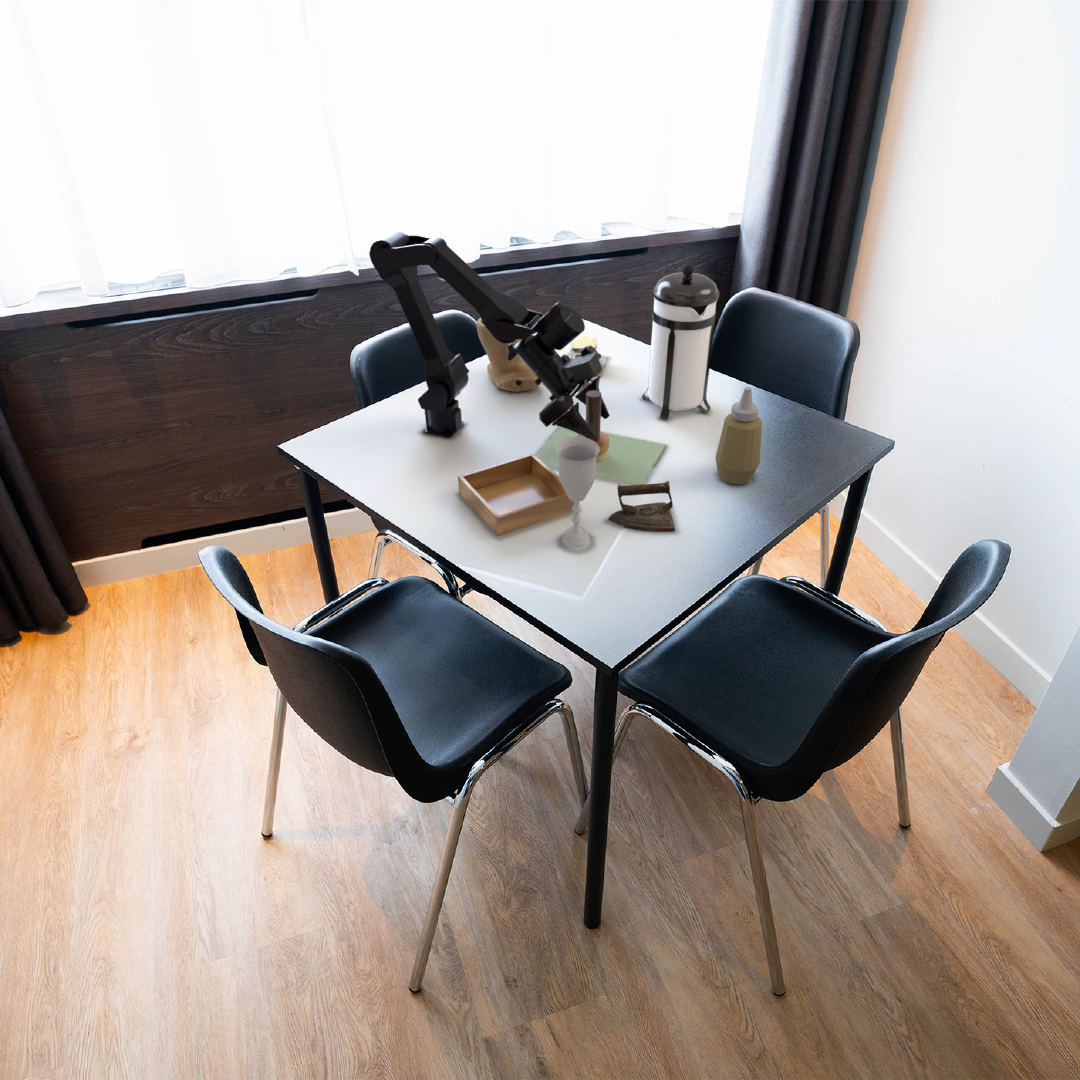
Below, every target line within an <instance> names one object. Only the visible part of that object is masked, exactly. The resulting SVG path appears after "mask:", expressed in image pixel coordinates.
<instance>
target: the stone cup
mask: <svg viewBox="0 0 1080 1080" xmlns="http://www.w3.org/2000/svg"><path fill="white" fill-rule="evenodd" d="M477 319H478V320H477V321H476V331H477V336H478V338H479V339H478V340H479V341H480V343H481V345H482V348H483V349H484V351H485V354H486V355H487V357H488V360H489V363H488V364H487V367H486V368H487V373H488V375H489V376H490V378H491V379H492V381H493V382H494V384H495V386H497V388H498V389H501V390H505V391H509V392H517V393H518V392H525V391H529V390H533V389H535V388H538V387H540V386H541V385H542V382H541V383H540V384H539V385H537V384H536V383H535V380H536V379H537V377H536V375H535V374H534V373H533V372H532V371H531V370H530V368H529V367H528V366H527V365H526V364H525V363H524V361H523V360H522V359H521V358H520V357H519V356H518V355H517V356H516V357H514V358H513V359H512V360H511V361H509V360H508V351H509V350H508V346H509V345H510V344H511V343H504V344H503V343H500V342H498V341H497V340H496V339H495V338H494V337H493V336H492V335H491V333H490V332H489V331H488V330H487V328H486V327H485V326H484V324H483V322H482V320H481V317H479V318H477ZM520 340H521V339H517V340H515V341H514V342H519V341H520Z"/></svg>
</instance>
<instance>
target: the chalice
mask: <svg viewBox="0 0 1080 1080" xmlns="http://www.w3.org/2000/svg"><path fill="white" fill-rule="evenodd" d="M599 451H600V447H599V446H598V444H597V443H596V442H594V441H593V440H590V439H588V438H583V437H571V438H566V439H564V440H562V441H560V442H559V443H558V444H557V445H556V452H557V454H558V456H559V469H558V476H559V478H560V481H561V484H562V486H563V488H564V490H565V492H566V494H567V496H568V497H569V499H570V500H572V501H574V506H573V507H572V510H573V511H572V513H573V515H572V516H571V517H570V519H571V521H572V523H573V526H570V527H568V528H567V530H565V532H564V535H563V537H562V540H561V541H562V544H563V545H564V546H565V547H566V548H569V549H571V550H581V549H585V548H586V547H588V546H589V544H590V543H591V538H590V536H589V534H588V531H587V530H586V529H585V528H584V527H582V526H580V522H581V521H582V520H583V519H582V518H583V517H582V516H581V515H580V513H581V512H582V507H581V504H580V502H583V501H584V500H585V499H586V497H587V495H588V494H589V492H590V491H591V489H592V487H593V485H594V482H595V480H596V478H597V477H596V456H597V455H598V453H599Z"/></svg>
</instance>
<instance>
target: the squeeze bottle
mask: <svg viewBox="0 0 1080 1080" xmlns="http://www.w3.org/2000/svg"><path fill="white" fill-rule="evenodd" d="M753 402H754V400H753V389H752V387H750V386H745V387H744V389H743V391H742V394H741V397H740V399H739V401H737V402H735V403H733V404H732V406H731V409H730V410H731V411H730V413H728V414H727V415H726V416H725V417H724V420H723V425H722V427H721V433H720V435H719V436H720V437H719V441H718V445H717V448H716V453H715V455H714V456H715V458H714V459H715V464H716V468H717V472H718V475H719V478H720V479H721V480H722V481H723V482H725V483H727V484H730V485H744V484H747V483H749V482H750V481H751V480H752V478H753V476H754V475H755V473H756V471H757V469H758V468H759V466H760V464H761V451H762V450H761V449H762V433H763V422H762V419H761V418H760V417H759V410H760V409H759V408H760V407H759V406H757V404H755V403H753Z"/></svg>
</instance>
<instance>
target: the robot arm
mask: <svg viewBox="0 0 1080 1080" xmlns="http://www.w3.org/2000/svg"><path fill="white" fill-rule="evenodd" d="M368 257H369V260H370V263H371V264H372V266H373V268H374V269H375V271H376V273H377V274H378V276H379V277H380V279H382V280H383V281H384V282H385V283H386V284H387V285H389V286H390V287H391V288H392V290H393V291H394V293H395V296H396V297H397V300H398V302H399V304H400V307H401V309H402V312H403V313H404V316H405V318H406V321H407V323H408V325H409V328H410V330H411V332H412V335H413V336H414V339H415V340H416V343H417V345H418V348H419V350H420V353H421V355H422V357H423V360H424V379H425V383H426V387H427V389H426V390H425V392H423V393H422V395H420V396H419V397H418V398H417V402H418V404H419V407H420V409H421V410H424V418H425V427H423V429H422V430H421V431H422V433H423V434H426V435H427V434H428V435H432V436H436V437H437V436H438V437H442V438H447V439H451V438H452V437H453V436H454V435H455V434H457V432H458V431H459V430H460V429H461V428H462V427H463V426H464V425H465V422H464V421H463V419H462V409H461V407H460V406H459V405H460V404H459V403H460V402H459V400H458V399H456V398H457V397H458V396H459V395H460V394H461V392H462V391H463V390H464V389H465V388H466V387H467V385H468V383H469V373H470V370H469V369H468V367H467V366H466V364H465V361H464V357H463V355H462V354H461V353H458V354H456V355H455V354H454V353H453V352H452V351H450V350H449V348H448V347H447V344H446V343H445V340H444V338H443V335H442V333H441V331H440V328H439V326H438V324H437V321H436V318H435V317H434V313H433V311H432V309H431V307H430V305H429V302H428V300H427V297H426V295H425V292H424V291H423V288H422V286H421V283H420V281H419V276H418V267H419V266H428V267H430V268H431V269H432V270H433V271H434V272H435V273H436V274H437V275H438V276H440V278H442V279H443V280H444V281H445V282H446V283H447V284H448V286H450V287H451V288H452V289H453V290H455V292H456V293H458V294H459V295H460V296H461V297H462V298H463V299H464V300H465V301H466V302H467V303H468V304H469V305H471V307H473V308H474V309H475V311H476V312H477V313H478V315H479V318H481V320H482V322H483V324H484V326H485V327H486V328H487V330H488V331H489V332H490V333H491V335H492V336H493V337H494V338H495V339H496V340H497V341H498V342H500V343H503V344H504V343H511V344H510V345H509V346H508V350H509V351H508V360H509V361H511V360H512V359H513V358H514V357H516V356H517V355H518V356H519V357H520V358H521V359H522V360H523V361H524V363H525V364H526V365H527V366H528V367H529V368H530V370H531V371H532V372H533V373H534V374H535V375H536V377H537V379H536V380H535V383H536V384H537V385H539V384H540V383H541V384H542V385H543V386H544V387H545V388H546V389H547V390H548V392H549V393H550V394H551V395H550V396H549V397H548V400H550V402H549V403H547V404H546V405H545V406H544V407H543V408H542V409H541V410H540V412H538V417H539V418H538V419H539V421H540V422H541V423H542V425H543V426H545V427H544V428H547V427H549V426H550V425H551V426H552V427H555V426H558V427H563V428H566V429H569V430H571V431H573V432H576V433H578V434H580V435H583V436H585V437H587V438H589V439H592V438H593V437H594V436H595V435H594V433H593V431H592V430H591V428H590V427H589V425H588V424H587V423H586V419H585V418H584V417H583V415H582V414H581V413H580V402H581V404H584V405H585V406H586V393H587V392H588V391H591V390H596V391H599V392H601V390H600V381H601V378H602V377H601V374H599V373H602V371H603V368H602V366H601V364H600V361H599V359H600V358H601V357H602V354H601V353H599V352H598V350H597V349H596V350H595V349H594V348H593V347H592V346H591V345H590V346H586V347H584V348H583V349H582V350H581V356H578V357H577V358H575V359H572V360H571V359H570V358H569V355H567V354H565V353H564V354H562V355H560V354H559V353H558V352H557V351H563V349H565V348H566V347H567V346H568V345H570V344H571V343H572V342H573V341H575V340H576V339H577V338H578V337H580V336H581V334H582V333H583V332H584V331H585V329H586V326H585V325H586V324H585V321H584V319H583V318H582V316H581V315H580V313H579V312H578V311H577V310H575V309H573V308H572V307H571V306H569V305H564V304H563V303H562V302H561V301H560V300H558V301H557V302H556V303H554V305H552V307H551V308H550V309H549V311H547V312H546V313H543V312H540V311H537V310H533V309H529V308H527V307H526V306H524V305H523V304H522V303H521V302H519V301H517V300H516V299H515V298H513V297H512V296H510V295H509V294H506V293H502V292H499V291H497V290H496V289H495V288H493V287H492V286H491V285H490V284H489V283H488V282H487V281H486V280H485V279H483V277H481V276H480V275H479V274H478V273H477V272H476V271H475V270H474V269H473V268H472V267H471V266H470V265H469V264H468V263H466V262H465V261H464V260H463V259H462V258H461V257H460V256H459V255H458V254H457V253H456V252H455V251H453V249H452V248H451V247H449V245H448V244H447V242H446V240H445V239H444V238H443V237H440V236H426V235H422V234H406V233H404V232H402V231H400V230H393V231H391V232H389V233H387V234H386V235H384V236H382V237H381V238H379V239H378V240H375V241H374V242H373V243H372V244H371V246H370V248H369V251H368ZM534 332H536V334H535V335H534ZM517 339H521V340H520V341H519V342H514V341H515V340H517ZM598 374H599V376H597V375H598ZM573 397H574V398H575V399H576V400H578V401H577V402H576V403H575V402H574V399H573ZM610 415H611V414H610V413H609V411H608V408H607V406H606V403H605V401H604V398H603V396H602V395H601V418H603V420H607V419H608V418H609V417H610Z"/></svg>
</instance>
